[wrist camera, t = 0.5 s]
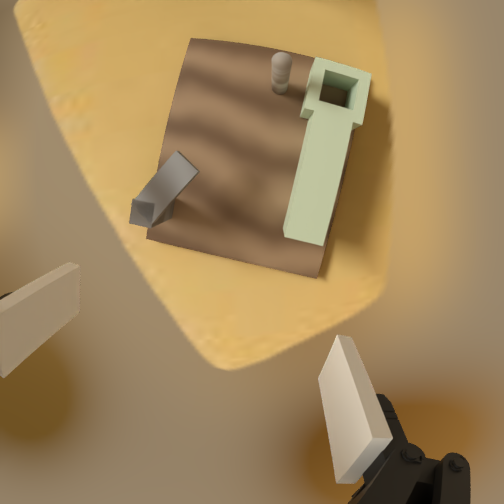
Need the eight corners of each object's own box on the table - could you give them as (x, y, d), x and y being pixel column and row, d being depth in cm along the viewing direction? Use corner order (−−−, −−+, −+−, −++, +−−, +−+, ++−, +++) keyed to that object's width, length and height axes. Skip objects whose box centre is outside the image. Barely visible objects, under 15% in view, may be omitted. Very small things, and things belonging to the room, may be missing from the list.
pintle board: (192, 41, 31) (169, 5, 21) (363, 75, 31) (391, 46, 21) (149, 237, 38) (112, 258, 28) (315, 275, 37) (329, 310, 28)
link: (309, 71, 30) (315, 56, 26) (358, 85, 30) (371, 73, 26) (274, 226, 35) (274, 234, 30) (324, 238, 35) (332, 248, 30)
